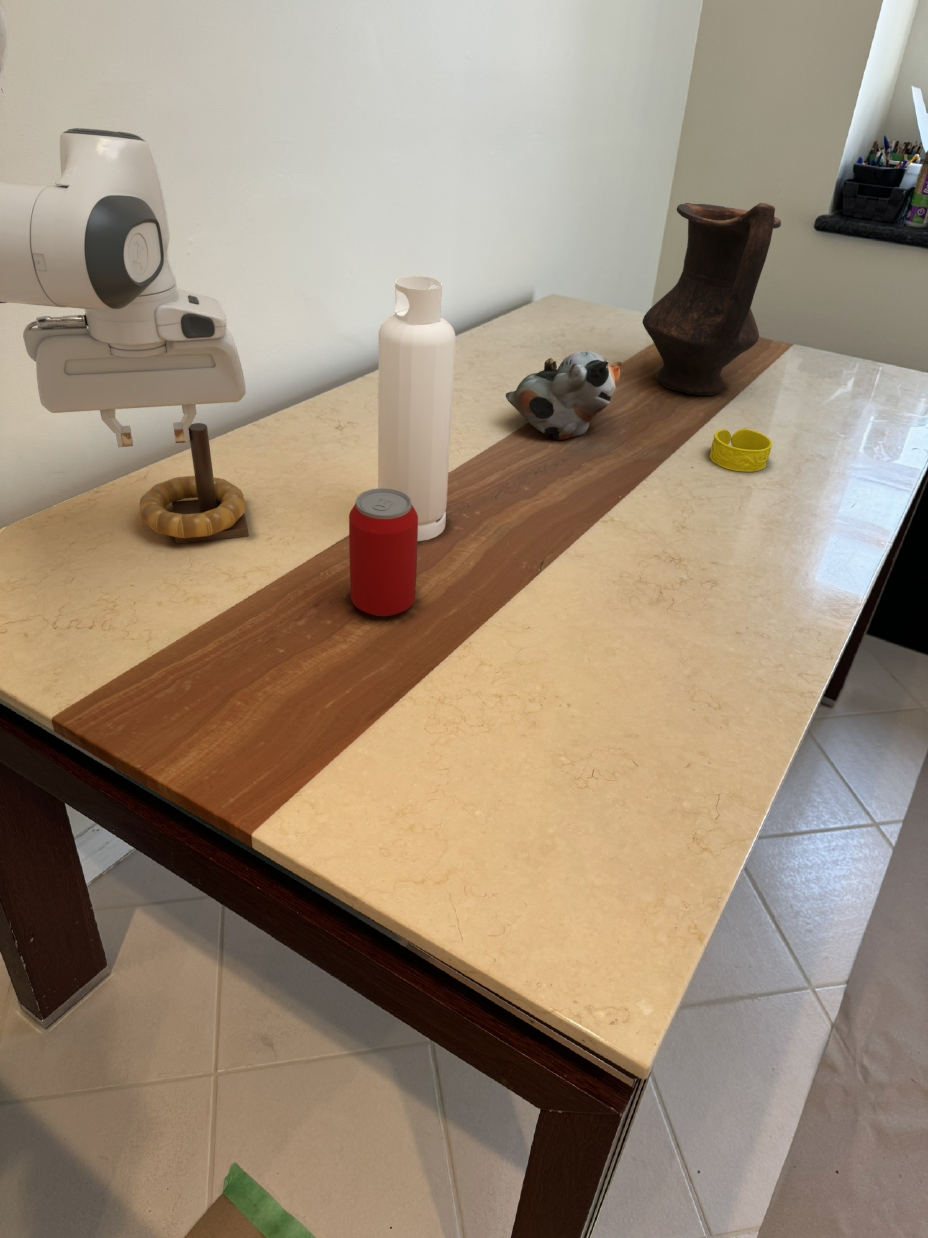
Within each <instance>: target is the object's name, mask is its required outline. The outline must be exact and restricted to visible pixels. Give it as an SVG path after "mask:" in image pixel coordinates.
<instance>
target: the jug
mask: <svg viewBox="0 0 928 1238" xmlns="http://www.w3.org/2000/svg"><path fill="white" fill-rule="evenodd" d="M676 212H677V214H679V215H680V216H681V217H682V218H684V219H686V220H687V245H686V251H685V255H684V259H683V267H682V271H681V274H680V276H679V279H678V280H677V282H676V284H675V285H674V286H673V287H672V288H671V289H670V290H669V291H668V292H667V293H666V294H665V295H664V296H662V297H661V298H660V299H659V300H658V301H657V302H655V303H654V304H653V306H651V307H650V308H649V310H647V311H646V313H645V314H644V316H643V319H642V325H643V328H644V329H645V331H646V332H647V335H648V336H649V337H650V338H651V341H652V342H653V344H654V346H655V348H656V350H657V352H658V354H659V355H660V357H661V360H662V363H663V365H662V366H661V368H659V370H658V371H657V374H656V375H655V377H656V380H657V381H658V383H660V384H662V386H664V387H666V388H667V389H671V390H674V391H676V392H680V393H684V394H687V395H696V396H713V395H716V394H721V393H719V392H720V391H722V390H723V389H724V387H725V382H724V380H723V378H722V375H721V374H722V371H723V369H724V368H725V367H726V366H727V365H729V364H731V362H732V361H734V360H735V359H736V358H738V357H740V355H742V354H743V353H745V352H747V351H749V349H750V350H751V348H752V347H754V346H755V345H756V344H757V342H759V338H760V332H759V327H758V325H757V321H756V319H755V316H754V313H753V311H752V308H751V307H752V304H753V300H754V297H755V294H756V290H757V287H758V284H759V281H760V277H761V275H762V272H763V269H764V267H765V263H766V260H767V258H768V257H767V256H768V253H769V249H770V245H771V242H772V237H773V231H774V229H778V228H779V229H780V228H781V226H782V221H781V219H780V218H778V217H776V216H775V214H776V213H775V212H776V207H775V205H772V204H769V203H765V202H759V203H757V204H756V205H754V206H753V207H751V208H750V209H749V210H748V209H740V208H733V207H728V206H727V207H725V206H722V205H715V204H708V203H706V204H705V203H690V202H686V203H680V204H678V205H677V207H676Z"/></svg>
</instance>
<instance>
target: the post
mask: <svg viewBox="0 0 928 1238" xmlns="http://www.w3.org/2000/svg"><path fill="white" fill-rule="evenodd" d="M188 433H189V441H190V442H189V444H190V451H191V452H190V453H191V458H192V467H193V473H194V476H195V481H196V488H197V496H198V498H196V499H185V500H179V501H176V502H173V503H171V509H172V512H173V513H178V514H195V513H204V512H206V511H209V510H212V509H214V508H217V507H218V506H219V505H220V504H221V503H220V502H219V501H217V500H216V494H215V485H214V477H215V476H214V470H213V469H214V468H213V463H212V453H211V445H210V438H209V437H210V436H209V430H208V425H207V424H205V423H203V422H194V423H191V425H190V427H189V428H188ZM249 536H250V533H249V527H248V522H247V517H246V512H244V514H243V515H242V516H241V517H240V518H239V520H238V521H237V522H236V523H235V524H234V525H233V526H232V527H230V528H228V529H225V530H223V531H220V532H218V533H215V534H213V535H210V536H202V537H192V538H179V537H174V539H175V544H186V543H195V542H205V541H215V540H224V539H234V538H235V539H236V538H244V537H245V538H246V537H249Z"/></svg>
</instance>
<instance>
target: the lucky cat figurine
mask: <svg viewBox="0 0 928 1238" xmlns="http://www.w3.org/2000/svg"><path fill="white" fill-rule="evenodd" d="M622 365H623V362H622V361H616V362H613V363H610V362H609V360H608V359H607V358H606V357H605V356H604V355H601V354H599V353H597V352H594V351H589V350H586V351H581V352H574V353H572V354H570V355H568V356H567V357H565V358H564V359H563V360H562V361H561V362H560V364H559V365H558V366H557V361H556V360H555V359H554V358H553V357H549V358H548V359H546V360H545V361H544V366H543V369H542V370H540V371H538V372H534V373H530V374H528V375H526V376H525V377H524V378H522V380H521V381H520V382H519V384H518V385H517V387H516V389H515V390H513V391H509V392H506V393H505V398H506V400H507V402H508V403H509V404H511V405H512V407H513V408H514V409H515V410H516V411H517V412H519V414H521V416H523V417H524V418H525V420H526V421H527V422H528V423H529V424H530V425H531V426H533V428H535V429H536V430H538V431H539V432H541V433H542V434H544V435H548V434H552V437H553V439H554V440H557V441H563V440H567V439H571V438H575V437H579V436H582V435H584V434H586V432H587V431H588V429H589V428H590V422H591V420H592V418H594V417H595V416H596V415H598V414H599V413H601V412H602V411H603V410H604V409H605V408H607V407H608V406H609V405H610V404H611V399H612V396H613V394H614V392H615V390H616V388H617V385H618V384H619V381H620V376H621V369H620V368H621V366H622Z"/></svg>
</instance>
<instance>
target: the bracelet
mask: <svg viewBox="0 0 928 1238" xmlns="http://www.w3.org/2000/svg"><path fill="white" fill-rule="evenodd" d="M729 444H730V445H729ZM772 447H773V441H772V440H771V439H770V437H768V436H767V435H766V434H763V433H762V432H759V431H757V430H753V429H750V428H740V429H738V430H736V431H735V432H734V433H733V434H732V435H731V432H730V430H728V429H725V428H722V429H718V430H716V431H715V432H714V434H713V439H712V443H711V446H710V453H709V459H710V460H711V461H712V462H713V463H714V464H715V465H716V466H719V467H721V468H724V469H726V470H730V471H736V472H744V473H745V472H746V473H748V472H750V473H752V472H759V471H762V470H763V469H765V468H766V466H767V462H768V460H769V457H770V455H771V450H772Z"/></svg>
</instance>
